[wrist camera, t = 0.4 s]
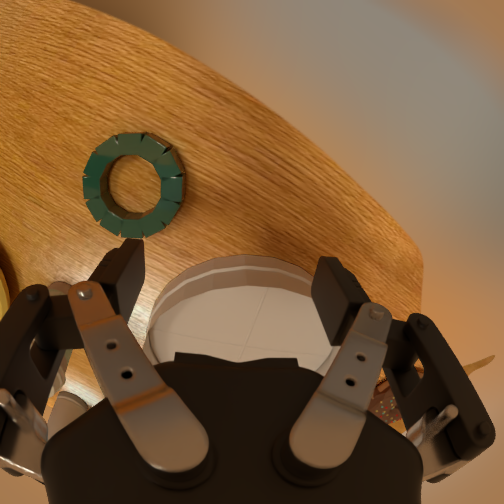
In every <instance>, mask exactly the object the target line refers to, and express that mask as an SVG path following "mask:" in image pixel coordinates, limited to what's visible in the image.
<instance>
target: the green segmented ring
mask: <svg viewBox="0 0 504 504" xmlns="http://www.w3.org/2000/svg"><path fill="white" fill-rule="evenodd" d="M170 146H171V145H170V144H169V143H167V142H166V141H164V140H162V139H161V138H159V137H157V136H156V135H154V134H152V133H150V134H147V132H125V133H120V134H118V135H114V136H112V137H111V138H109V139H108V140H106V141H105V142H103V143H102V144H101V145H99V146H98V147H96V148H95V149H96V151H93V152H92V154H91V156H90V158H89V160H88V162H87V165H86V167H85V169H84V172H83V173H84V174H86V175H85V176H83V177H82V178H83V193H84V199H90V200H88V201H87V202H86V205H87V207H88V209H89V210H90V212H91V214H92V215H93V217H94V219H95V220H96V222H98V221H99V220H101V219H102V220H101V222H100V226H102V227H104V228H105V229H107V230H108V231H110V232H112V233H113V234H115V235H116V236H118V235H119V234H120V233H121V237H123V238H140V239H142V238H143V237H144V235H145V237H146V238H147V237H149V236H151V235H153V234H155V233H157V232H159V231H161V230H163V229H165V228H166V226H167V225H169V224H170V222H171V221H172V219H173V217H174V216H175V214H176V212H177V211H178V209H179V208H180V206H181V204H182V202H183V198H184V196H185V180H186V173H182V171H183V170H184V166H183V165H182V163H181V161H180V159H179V157H178V155H177V153H176V151H175V149H174V148H173V149H171V150H169V151H168V149H169V148H170ZM123 155H138V156H140V157H142V158H143V159H145V160H147V161H148V162H150V163H152V164H153V166H154V168H155V170H156V172H157V173H158V175H159V177H160V179H161V198H160V200H159V201H158V203H157V205H156V207H154V208H152V209H150V210H148V211H146V212H145V213H129V212H127V211H126V210H124V209H122V208H121V207H119V206H118V205H116V204H115V202H114V201H113V199H112V197H111V195H110V194H109V192H108V181H107V175H108V173H109V171H110V169H111V167H112V165H113V163H114V161H115V160H116V159H118V158H119V157H121V156H123Z"/></svg>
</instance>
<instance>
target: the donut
mask: <svg viewBox="0 0 504 504" xmlns="http://www.w3.org/2000/svg"><path fill="white" fill-rule="evenodd" d="M418 374H419V377H420V379H422V377H423V373H420V372H418ZM368 410H369V411H370V412H372V413H373V414H374V415H376V416H377V417H378V418H380V419H381V420H382V421H384V422H385V423H387V424H389V423H392V422H395V421H398V420H399V419H400V420H401V419H402V416H401V413H400V411H399V408H398V405H397V403H396V400H395V398H394V395H393V393H392V390H391V388H390V385H389V383H388V380H387V381H385V382H384V383H382V384H381V385H379V386H378V387H377V388H375V390H374V392H373V395H372V398H371V401H370V403H369V406H368Z"/></svg>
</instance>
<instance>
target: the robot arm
mask: <svg viewBox="0 0 504 504" xmlns="http://www.w3.org/2000/svg"><path fill="white" fill-rule="evenodd" d="M144 279H145V258H144V242H143V240H142V239H131V238H126V240H125V241H124V242H123V244H122V245H121V247H120V248H114V249H112V250H111V251H109V252H108V253H106V255H105V256H104V258H103V259H102V261H101V262H100V263H99V266H97V267H96V269H95V270H94V272H93V273H92V275H91V276H90V278H89V279H88V281H82V282H78V283H76V284H74V285H73V286H72V287H71V288H70V289H69V290H68V294H67V295H56V296H50V293H49V290H48V288H47V287H46V286H44V285H41V284H35V285H31V286H28V287H26V288H25V289H23V290H22V291H21V292H20V294H19V295H18V296H17V298H16V299H15V300H14V302H13V303H12V305H11V306H10V307H9V309H8V310H7V312H6V313H5V315H4V316H3V318H2V319H1V321H0V468H2V469H3V470H5V471H6V472H8V473H9V474H11V475H13V476H22V475H27V476H29V477H31V478H34V479H36V480H38V481H41V482H44V485H45V487H46V492H47V496H48V501H49V504H421V484H422V482H423V481H425V480H426V481H427V482H430V483H437V482H440V481H441V480H443V479H445V478H446V477H448V476H449V475H451V474H452V473H454V472H456V471H457V470H458V469H460V468H461V467H463V466H464V465H466V464H467V463H469V462H470V461H471V460H473V459H474V458H476V457H477V456H478V455H480V454H481V453H482V452H483V451H485V450H486V449H487V448H489V447H490V446H491V445H492V444H493V442H494V440H495V436H496V435H495V428H494V425H493V423H492V421H491V419H490V417H489V415H488V413H487V411H486V409H485V407H484V405H483V403H482V401H481V400H480V398H479V396H478V394H477V392H476V390H475V389H474V387H473V385H472V383H471V381H470V380H469V378H468V376H467V374H466V373H465V371H464V369H463V368H462V366H461V364H460V363H459V361H458V359H457V358H456V356H455V354H454V353H453V351H452V350H451V348H450V347H449V345H448V344H447V342H446V340H445V339H444V337H443V336H442V334H441V333H440V331H439V330H438V328H437V327H436V326H435V324H434V323H433V321H432V320H431V319H429V318H428V317H427V316H425V315H423V314H419V313H412V314H411V315H410V316H409V318H408V319H407V321H406V322H404V321H399V320H395V319H392V315H391V313H390V312H389V310H388V309H386V308H385V307H384V306H382V305H380V304H377V303H373V302H371V300H370V299H369V297H368V296H367V294H366V293H365V291H364V289H363V288H361V287H362V286H361V285H360V283H359V282H358V280H357V279H356V277H355V276H354V274H352V273H351V272H350V271H349V270H347V269H346V268H344V267H343V266H342V264H341V263H340V261H339V260H338V258H336V257H326V256H321V257H320V258H319V261H318V264H317V268H316V271H315V275H314V278H313V281H312V285H311V297H312V300H313V302H314V305H315V307H316V310H317V312H318V315H319V317H320V320H321V322H322V325H323V327H324V330H325V333H326V335H327V338H328V340H329V343H330V346H341V347H340V349H339V351H338V353H337V355H336V357H335V358H334V360H333V362H332V364H331V366H330V367H329V369H328V371H327V373H326V375H325V376H323V375H321V374H319V373H317V372H315V371H313V370H310V369H307V368H303V367H299V364H298V360H297V358H263V359H258V360H252V361H246V362H232V361H228V360H224V359H220V358H217V357H213V356H209V355H206V354H194V353H183V352H175V356H174V361H167V362H162V363H158V364H155V365H152V364H151V362H150V361H149V359H148V358H147V356H146V355H145V353H144V351H143V350H142V348H141V347H140V345H139V344H138V342H137V340H136V339H135V337H134V335H133V334H132V332H131V330H130V329H129V327H128V325H127V324H128V321H129V318H130V316H131V313H132V311H133V308H134V306H135V303H136V301H137V298H138V296H139V293H140V291H141V288H142V286H143V283H144ZM33 339H35V341H34V343H33V345H32V347H31V349H30V346H31V343H32V341H33ZM82 348H84V350H85V353H86V355H87V358H88V360H89V362H90V365H91V367H92V370H93V372H94V374H95V376H96V379H97V381H98V383H99V385H100V388H101V390H102V392H103V394H104V396H105V398H104V399H103V400H102V401H100V402H99V403H98V404H96V405H95V406H93V407H92V408H91V409H89V410H88V411H86V412H85V413H84V414H82V415H81V416H79V417H78V418H76V419H75V420H74V421H72V422H71V423H69V424H68V425H66V426H65V427H64V428H62V429H61V430H59V431H58V432H56V433H55V434H54V435H53V436H52V437H51V438H50V439H49V440H48V426H47V423H46V421H45V419H44V418H43V417H42V416H43V413H44V410H45V407H46V404H47V401H48V398H49V395H50V392H51V389H52V386H53V383H54V380H55V378H56V375H57V372H58V370H59V367H60V364H61V362H62V359H63V357H64V354H65V352H66V350H67V349H82ZM418 358H419V359H420V361H421V363H422V365H423V368H424V374H423V377H422V379H420V377H419V374H418V372H417V370H416V368H415V366H414V364H415V362H416V361H417V360H418ZM382 368H383V370H384V373H385V375H386V378H387V380H388V383H389V385H390V388H391V390H392V393H393V395H394V398H395V400H396V403H397V405H398V408H399V411H400V413H401V416H402V419H403V422H404V424H405V427H406V430H407V433H406V437H405V436H403V435H402V434H401V433H399V432H398V431H396V430H395V429H393V428H392V427H391V426H389V425H388V424H387V423H385V422H384V421H382V420H381V419H380V418H378V417H377V416H376V415H374V414H373V413H372V412H370V411H369V410H368V406H369V403H370V401H371V398H372V395H373V392H374V390H375V387H376V384H377V381H378V378H379V375H380V372H381V369H382Z"/></svg>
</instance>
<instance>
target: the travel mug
mask: <svg viewBox="0 0 504 504" xmlns="http://www.w3.org/2000/svg"><path fill="white" fill-rule="evenodd" d="M87 409H88V408H87V405H86V404H85V402H84V401H83V400H81V399H80V398H79V397H77V396H75V395H73V394H71V393H68V392H60V393H59V394H58V396H57V400H56V401H55V404H54V407H53V409H52V412H51V415H50V417H49V420H48V423H47V426H48V440H49V439H50V438H51V437H52V436H53V435H54V434H55V433H56V432H58V431H59V430H61V429H62V428H64V427H65V426H66V425H68V424H69V423H71V422H72V421H74V420H75V419H76V418H78V417H79V416H81V415H82V414H84V413H85V412H86V411H87ZM33 479H34V478H33ZM35 480H36V479H35ZM37 481H38V480H37ZM39 482H40V483H42V484H44V482H41V481H39Z"/></svg>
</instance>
